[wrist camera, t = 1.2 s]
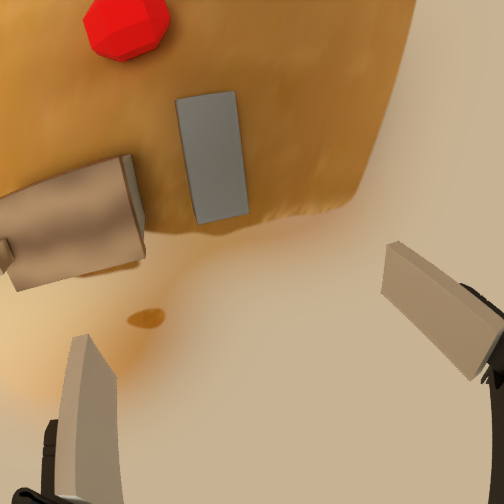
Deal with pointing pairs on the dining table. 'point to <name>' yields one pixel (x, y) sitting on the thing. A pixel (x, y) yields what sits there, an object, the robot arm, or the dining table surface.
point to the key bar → (5, 256)
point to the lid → (71, 224)
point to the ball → (126, 27)
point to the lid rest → (213, 155)
